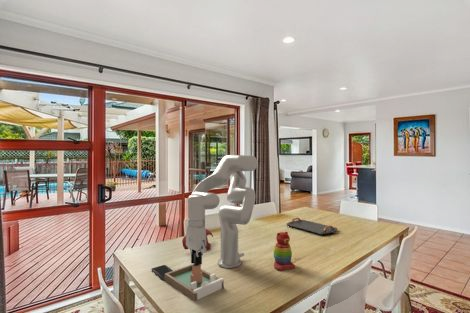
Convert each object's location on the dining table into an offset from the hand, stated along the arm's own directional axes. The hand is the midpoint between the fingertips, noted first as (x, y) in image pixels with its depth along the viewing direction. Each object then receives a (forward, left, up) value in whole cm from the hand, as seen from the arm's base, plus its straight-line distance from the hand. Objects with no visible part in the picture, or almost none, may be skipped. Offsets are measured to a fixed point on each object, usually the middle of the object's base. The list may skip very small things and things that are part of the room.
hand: (196, 263), depth 116 cm
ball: (0, +6, -8) cm, 10 cm away
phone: (+4, -21, -11) cm, 24 cm away
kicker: (0, 0, -9) cm, 9 cm away
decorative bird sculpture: (-30, -36, -10) cm, 48 cm away
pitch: (0, -3, -10) cm, 11 cm away
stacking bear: (-45, +15, -10) cm, 48 cm away
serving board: (-119, -11, -11) cm, 120 cm away
